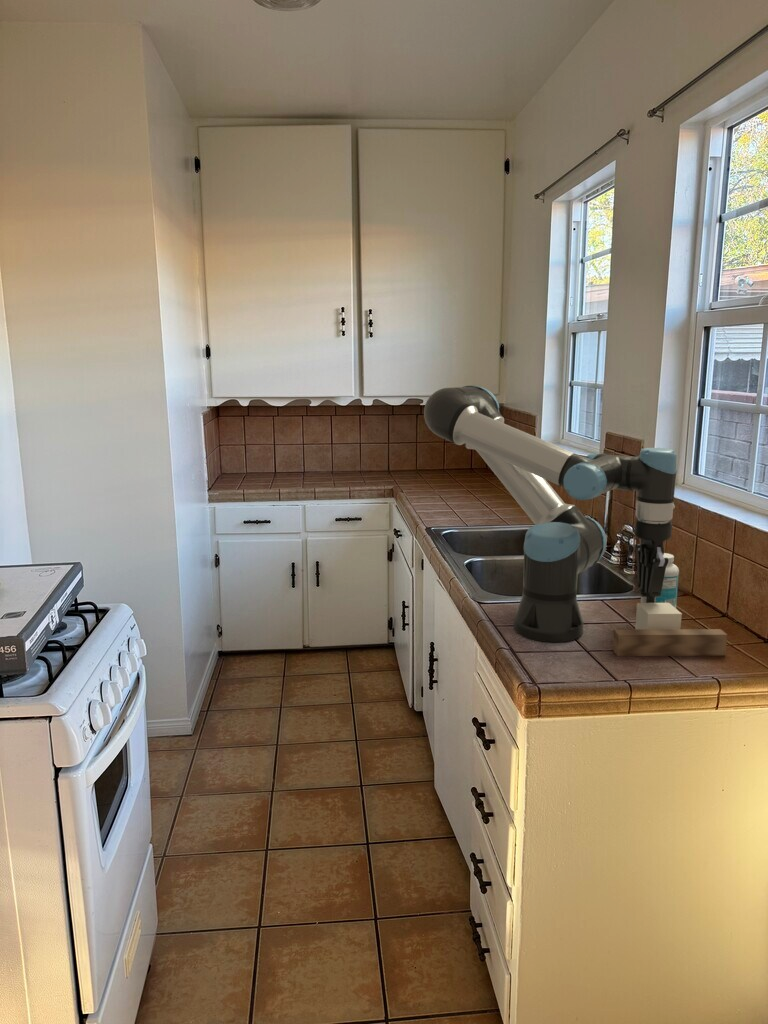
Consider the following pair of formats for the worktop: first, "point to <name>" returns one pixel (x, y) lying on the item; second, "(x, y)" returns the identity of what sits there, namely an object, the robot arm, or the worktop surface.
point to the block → (657, 616)
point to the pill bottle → (669, 583)
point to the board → (669, 642)
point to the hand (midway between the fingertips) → (646, 622)
